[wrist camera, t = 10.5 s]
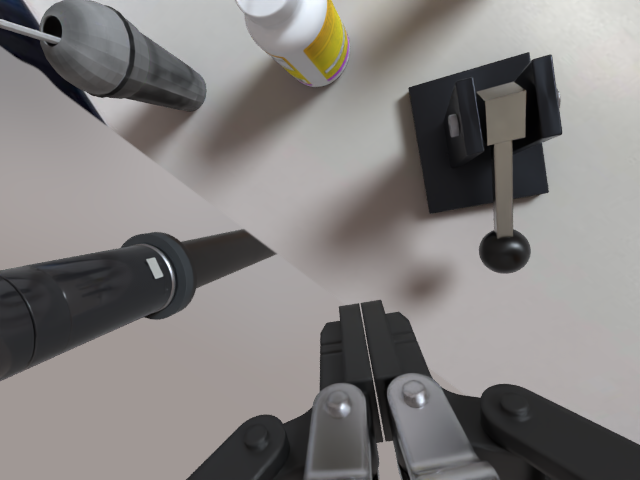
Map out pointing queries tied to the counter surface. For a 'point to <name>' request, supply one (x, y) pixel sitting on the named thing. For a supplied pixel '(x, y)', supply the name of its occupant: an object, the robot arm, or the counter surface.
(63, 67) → the beverage cup
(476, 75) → the bracket
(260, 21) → the supplement bottle
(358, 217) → the counter surface
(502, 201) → the lever
